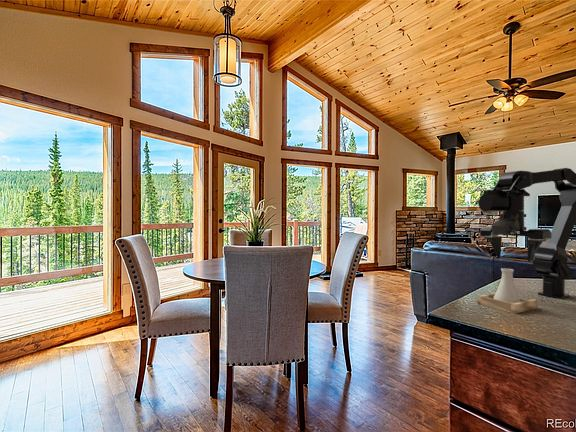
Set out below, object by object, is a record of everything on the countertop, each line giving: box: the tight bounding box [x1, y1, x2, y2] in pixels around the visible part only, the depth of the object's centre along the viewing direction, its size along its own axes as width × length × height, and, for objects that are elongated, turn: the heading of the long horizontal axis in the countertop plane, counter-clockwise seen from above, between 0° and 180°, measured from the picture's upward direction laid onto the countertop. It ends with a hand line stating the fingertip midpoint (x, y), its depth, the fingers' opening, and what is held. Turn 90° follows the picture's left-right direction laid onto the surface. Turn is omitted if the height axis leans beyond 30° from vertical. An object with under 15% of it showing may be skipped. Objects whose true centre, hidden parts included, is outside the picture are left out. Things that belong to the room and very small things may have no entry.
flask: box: [493, 267, 521, 303], centre depth 98 cm, size 7×7×10 cm
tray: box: [477, 292, 538, 314], centre depth 98 cm, size 11×10×2 cm
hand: (513, 259), depth 106 cm, fingers open, 9 cm apart
